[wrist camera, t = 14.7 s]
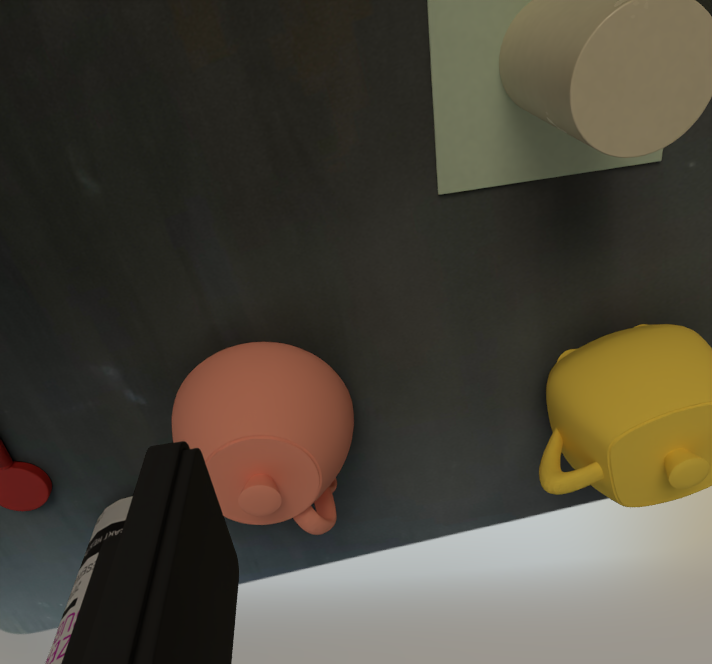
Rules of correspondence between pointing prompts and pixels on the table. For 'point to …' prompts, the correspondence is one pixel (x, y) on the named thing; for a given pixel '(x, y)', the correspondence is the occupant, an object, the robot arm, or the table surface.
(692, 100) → the beige cylinder
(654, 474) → the teapot
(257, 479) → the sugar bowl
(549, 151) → the mat
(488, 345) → the table surface
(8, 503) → the spoon
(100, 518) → the supplement can
